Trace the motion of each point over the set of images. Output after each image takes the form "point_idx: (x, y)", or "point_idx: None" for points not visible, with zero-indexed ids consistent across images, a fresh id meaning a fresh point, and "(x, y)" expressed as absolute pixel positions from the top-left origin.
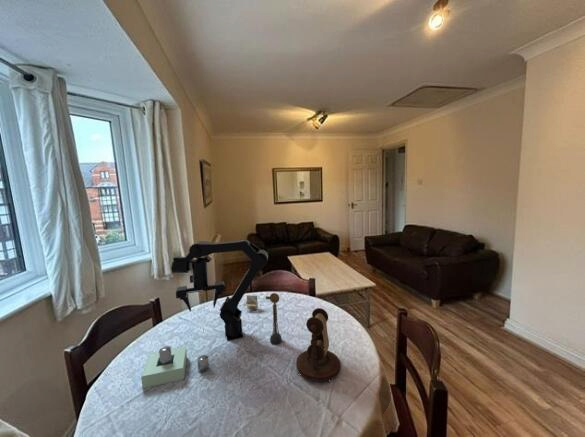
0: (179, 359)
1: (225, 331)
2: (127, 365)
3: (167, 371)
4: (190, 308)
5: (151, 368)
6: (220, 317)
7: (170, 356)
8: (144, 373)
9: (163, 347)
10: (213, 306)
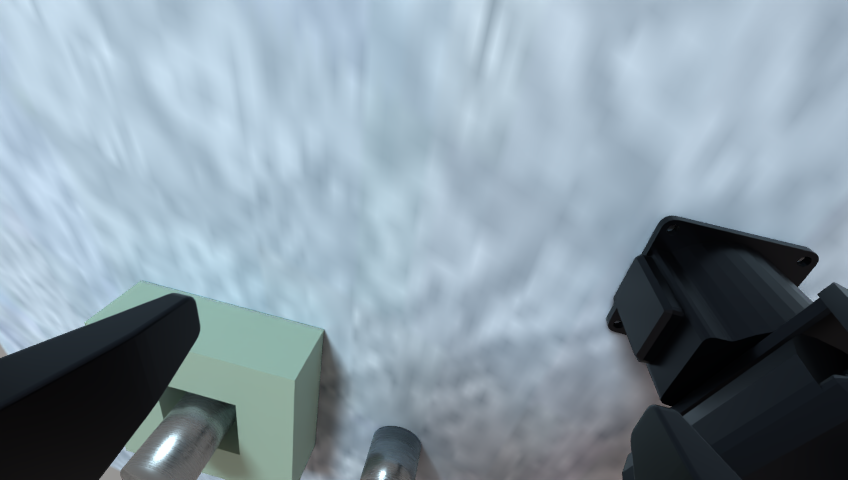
0: (268, 450)
1: (626, 332)
2: (17, 221)
3: (228, 477)
4: (147, 412)
5: (149, 432)
6: (622, 472)
7: (211, 456)
8: (132, 443)
9: (135, 469)
10: (640, 448)
